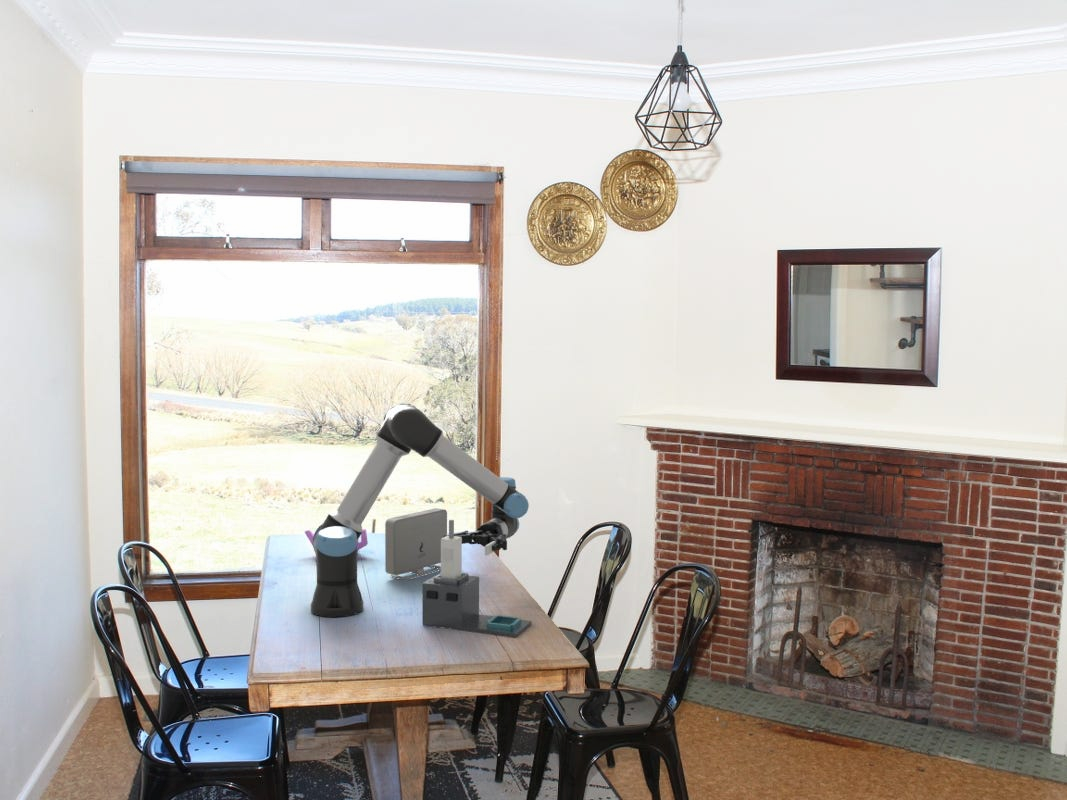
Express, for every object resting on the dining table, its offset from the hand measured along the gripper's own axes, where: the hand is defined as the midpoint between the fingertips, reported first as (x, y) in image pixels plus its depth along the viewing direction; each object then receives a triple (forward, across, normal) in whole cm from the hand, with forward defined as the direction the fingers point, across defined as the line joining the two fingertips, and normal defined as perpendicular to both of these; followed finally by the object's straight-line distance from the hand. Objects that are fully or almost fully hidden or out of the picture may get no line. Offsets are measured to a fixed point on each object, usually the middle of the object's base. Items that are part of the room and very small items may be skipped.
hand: (464, 548), depth 286 cm
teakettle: (-44, +69, -20) cm, 84 cm away
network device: (-35, +33, -19) cm, 52 cm away
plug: (+8, 0, -7) cm, 11 cm away
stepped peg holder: (+8, -8, -19) cm, 22 cm away
